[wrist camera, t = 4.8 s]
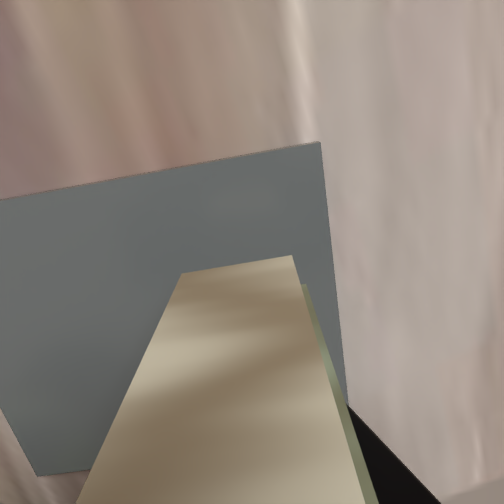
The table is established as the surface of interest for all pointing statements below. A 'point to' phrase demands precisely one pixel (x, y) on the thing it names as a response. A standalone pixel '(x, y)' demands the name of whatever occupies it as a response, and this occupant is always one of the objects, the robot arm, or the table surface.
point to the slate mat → (138, 281)
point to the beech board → (233, 402)
